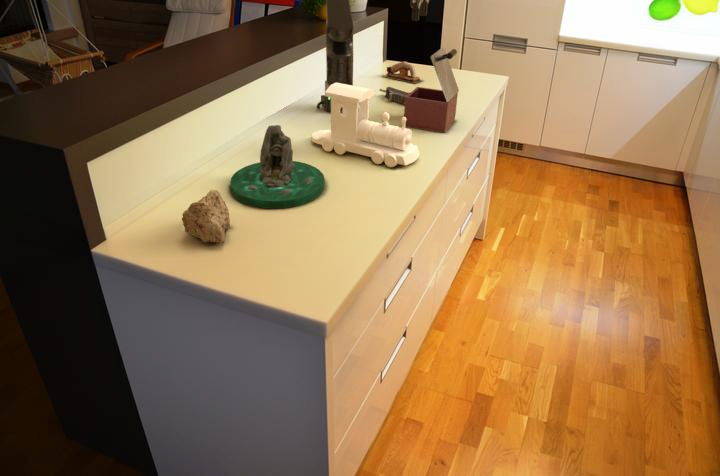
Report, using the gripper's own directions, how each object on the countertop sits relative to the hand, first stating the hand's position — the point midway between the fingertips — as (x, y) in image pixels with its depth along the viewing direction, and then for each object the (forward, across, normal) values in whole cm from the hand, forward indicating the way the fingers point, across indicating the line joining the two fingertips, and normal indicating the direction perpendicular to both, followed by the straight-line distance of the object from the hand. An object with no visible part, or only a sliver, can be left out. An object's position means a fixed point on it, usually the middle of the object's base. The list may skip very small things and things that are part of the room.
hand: (419, 18), depth 196 cm
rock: (+32, +99, -15) cm, 105 cm away
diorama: (+32, +72, -14) cm, 80 cm away
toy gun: (+32, -11, -2) cm, 34 cm away
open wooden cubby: (+32, +7, +8) cm, 34 cm away
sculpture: (+32, -39, -17) cm, 53 cm away
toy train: (+32, +40, -3) cm, 51 cm away
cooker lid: (+15, +7, +12) cm, 21 cm away
